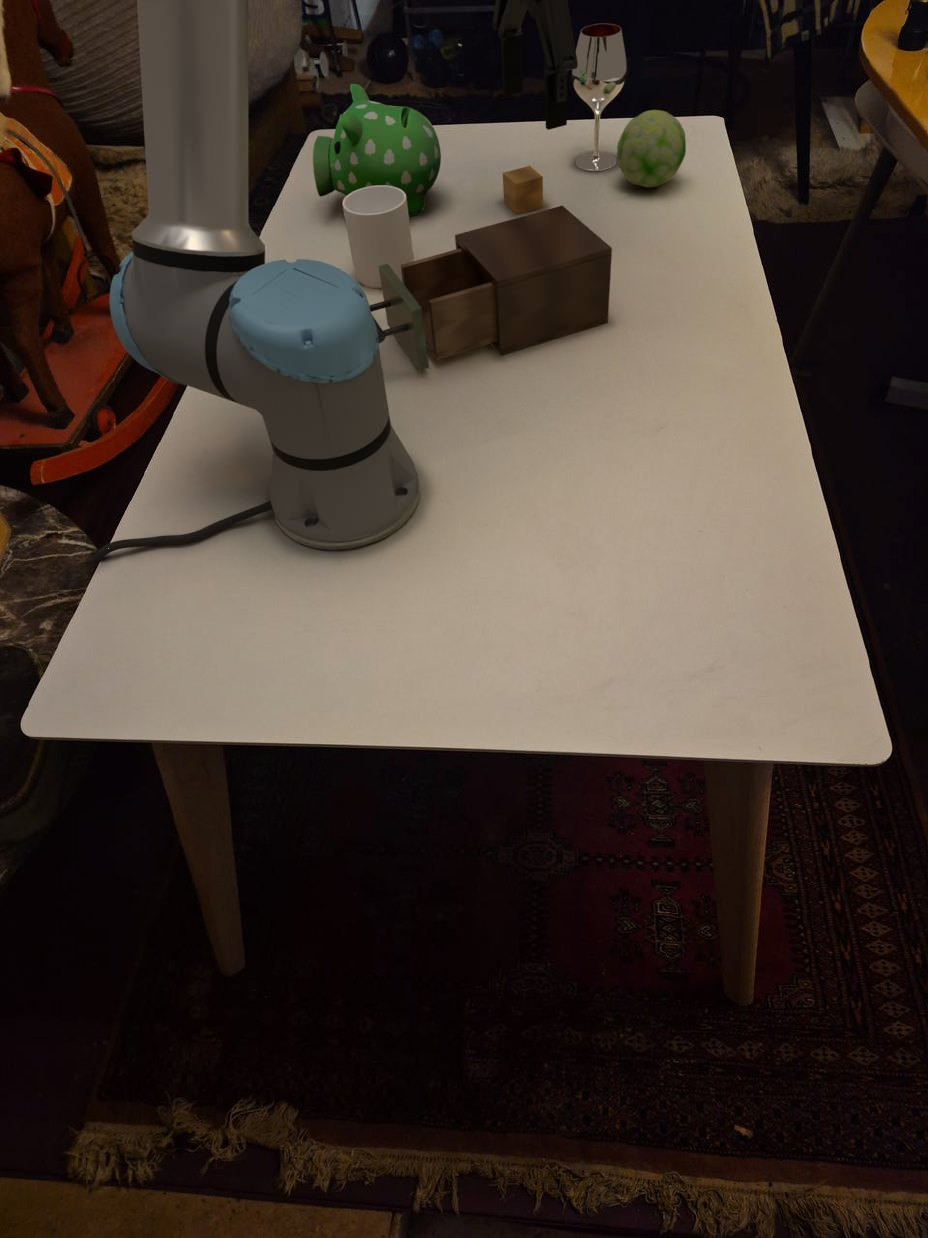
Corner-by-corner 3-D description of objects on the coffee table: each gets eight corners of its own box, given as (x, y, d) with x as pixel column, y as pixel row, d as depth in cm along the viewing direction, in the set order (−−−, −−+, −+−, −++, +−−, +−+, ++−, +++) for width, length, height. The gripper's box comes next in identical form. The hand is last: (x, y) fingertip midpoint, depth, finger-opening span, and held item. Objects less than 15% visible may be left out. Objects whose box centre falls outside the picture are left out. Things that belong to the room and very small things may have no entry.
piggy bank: (334, 188, 137) (315, 83, 125) (447, 181, 135) (438, 74, 124) (321, 231, 128) (299, 122, 116) (442, 224, 126) (431, 113, 115)
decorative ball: (684, 197, 126) (693, 124, 118) (616, 200, 127) (620, 127, 119) (679, 168, 132) (687, 96, 124) (613, 171, 133) (617, 100, 125)
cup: (348, 288, 116) (334, 213, 108) (371, 245, 124) (359, 172, 116) (407, 290, 115) (397, 214, 107) (427, 246, 122) (419, 172, 114)
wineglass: (607, 177, 132) (614, 42, 118) (560, 168, 135) (561, 36, 121) (630, 156, 136) (639, 23, 122) (583, 148, 139) (587, 18, 126)
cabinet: (500, 355, 103) (497, 281, 96) (460, 307, 111) (454, 234, 104) (607, 322, 106) (612, 247, 99) (561, 277, 114) (562, 204, 107)
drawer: (385, 381, 100) (375, 321, 94) (355, 334, 107) (343, 275, 101) (523, 339, 104) (521, 278, 98) (485, 296, 111) (481, 237, 105)
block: (516, 214, 126) (515, 183, 123) (503, 202, 129) (502, 172, 126) (543, 207, 127) (542, 176, 124) (530, 195, 130) (529, 165, 127)
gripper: (611, -75, 93) (602, 134, 109) (515, -114, 108) (520, 74, 125) (549, -61, 92) (549, 148, 108) (460, -104, 107) (472, 86, 123)
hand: (533, 109), depth 116 cm, fingers open, 13 cm apart
